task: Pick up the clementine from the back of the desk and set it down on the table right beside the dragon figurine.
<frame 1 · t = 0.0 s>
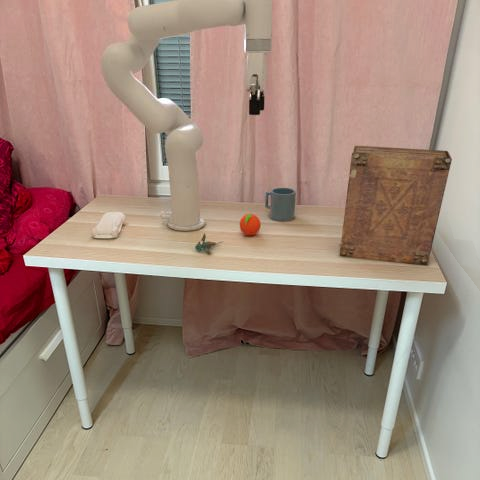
hand: (256, 112, 143), 37 cm above the table, tool pointing down, fingers open, 9 cm apart
blue mug: (282, 217, 173), on the table
book: (382, 255, 144), on the table
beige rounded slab: (110, 230, 161), on the table
clementine: (249, 235, 157), on the table
dragon figurine: (208, 250, 147), on the table
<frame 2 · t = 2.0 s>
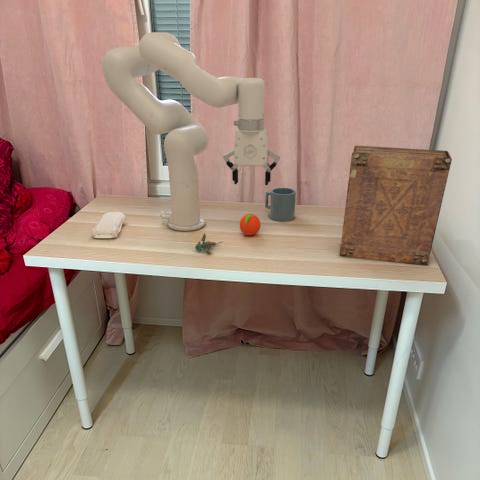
hand: (251, 183, 148), 17 cm above the table, tool pointing down, fingers open, 9 cm apart
nothing on the table moved.
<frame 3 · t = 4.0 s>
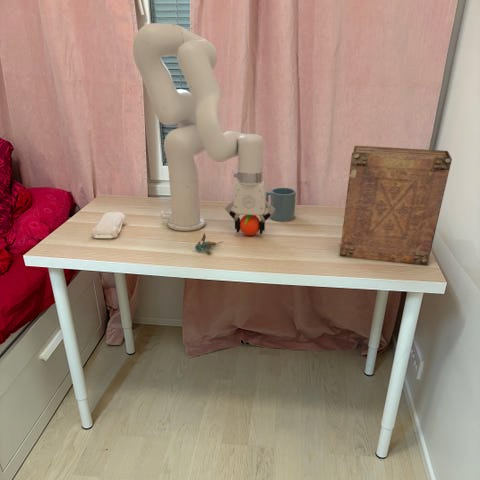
hand: (249, 231, 156), 1 cm above the table, tool pointing down, fingers closed on clementine, 7 cm apart
clementine: (249, 235, 157), on the table, touching gripper
everything else where it was.
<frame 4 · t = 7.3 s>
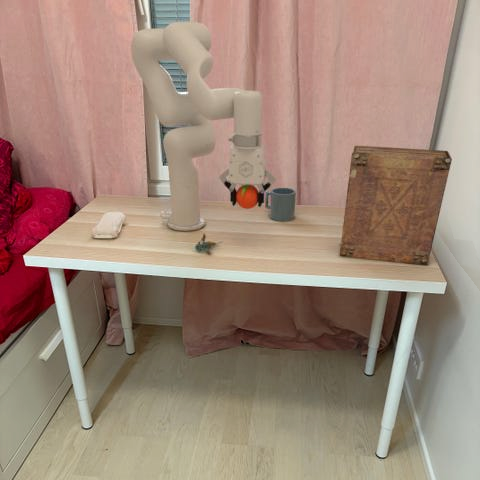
hand: (247, 204, 139), 14 cm above the table, tool pointing down, fingers closed on clementine, 7 cm apart
clementine: (246, 209, 140), point 13 cm above the table, touching gripper
everything else where it was.
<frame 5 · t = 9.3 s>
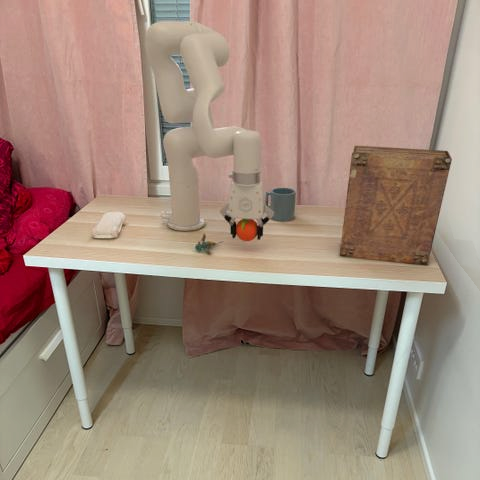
hand: (246, 237, 144), 4 cm above the table, tool pointing down, fingers closed on clementine, 7 cm apart
clementine: (246, 241, 144), point 3 cm above the table, touching gripper
everything else where it was.
when the fingers open (1 cm above the table, at t = 10.8 s): clementine stays where it is, on the table.
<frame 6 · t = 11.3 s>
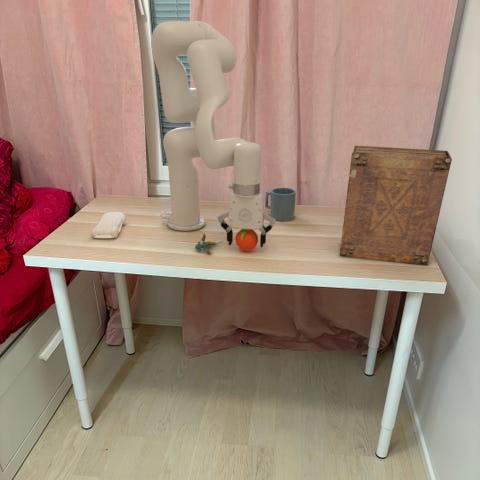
hand: (246, 244, 145), 2 cm above the table, tool pointing down, fingers open, 9 cm apart
clementine: (246, 251, 146), on the table
everything else where it was.
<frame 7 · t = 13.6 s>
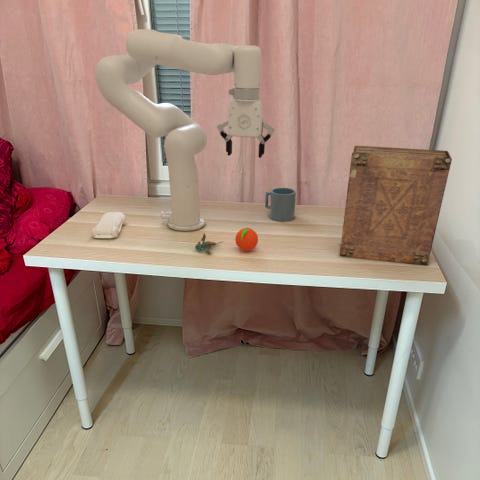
hand: (245, 155, 147), 25 cm above the table, tool pointing down, fingers open, 9 cm apart
nothing on the table moved.
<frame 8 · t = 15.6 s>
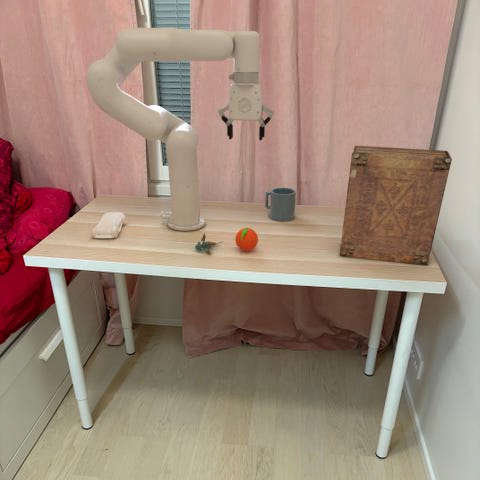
hand: (245, 139, 151), 28 cm above the table, tool pointing down, fingers open, 9 cm apart
nothing on the table moved.
at the end: clementine 11.5 cm from the dragon figurine (horizontally); clementine inside the target area (0.6 cm from its centre), on the table; dragon figurine moved 0.2 cm from its start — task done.
